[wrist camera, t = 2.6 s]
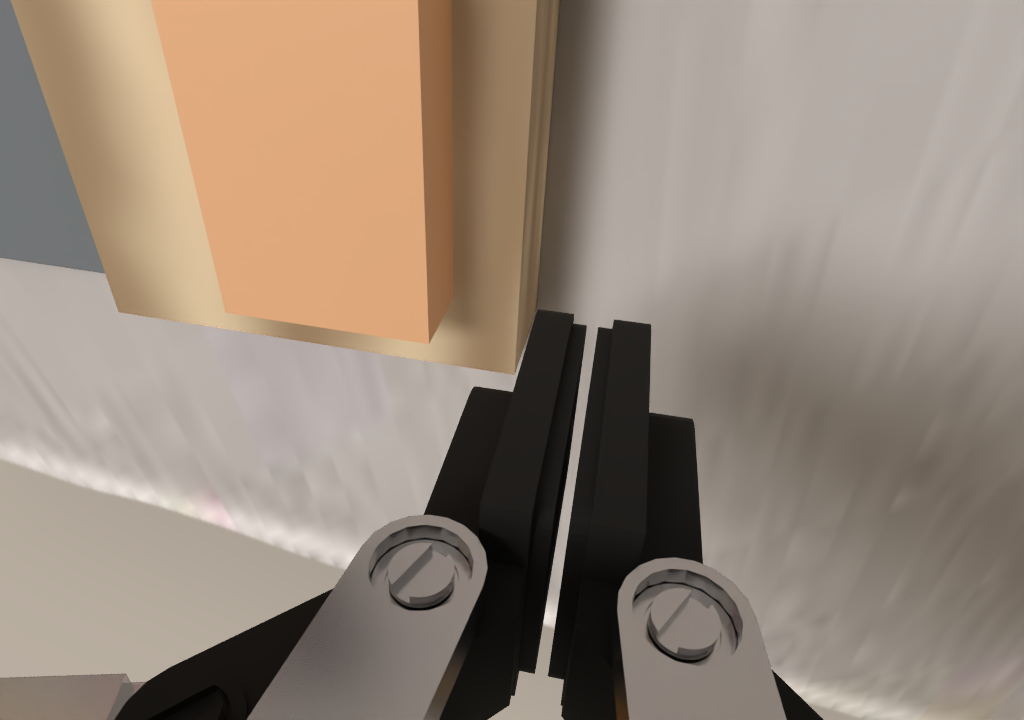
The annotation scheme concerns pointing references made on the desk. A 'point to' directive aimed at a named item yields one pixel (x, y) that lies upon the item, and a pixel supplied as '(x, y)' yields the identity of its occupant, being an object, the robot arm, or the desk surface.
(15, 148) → the mat
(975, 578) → the desk surface
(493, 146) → the tan flat square block
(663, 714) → the robot arm
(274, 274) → the orange rectangular block
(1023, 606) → the desk surface
